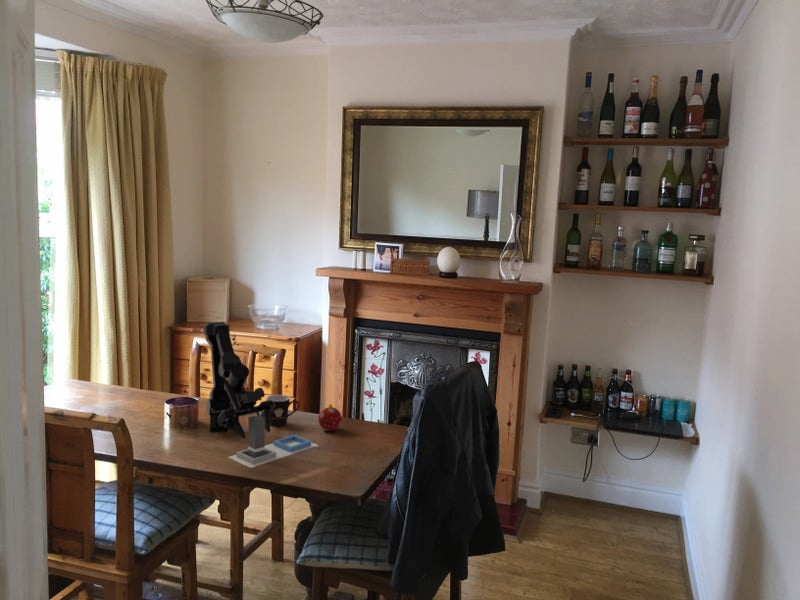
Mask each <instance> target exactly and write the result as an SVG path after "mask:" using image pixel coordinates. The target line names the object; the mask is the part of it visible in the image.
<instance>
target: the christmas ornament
mask: <svg viewBox="0 0 800 600" xmlns="http://www.w3.org/2000/svg"><path fill="white" fill-rule="evenodd" d="M342 421H343V416H342V414H341V411H340V410H338V409H337V408H336V407H333V404H332V403H329V405H328V407H326V408H324V409H321V411H320V413H319V414H318V423H319V424H318V425H319V426H320V427H321V428H322V429H323V430H324V431H327V432H333V431H335V430H337V429H338V428H340V427H341V424H342Z"/></svg>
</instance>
